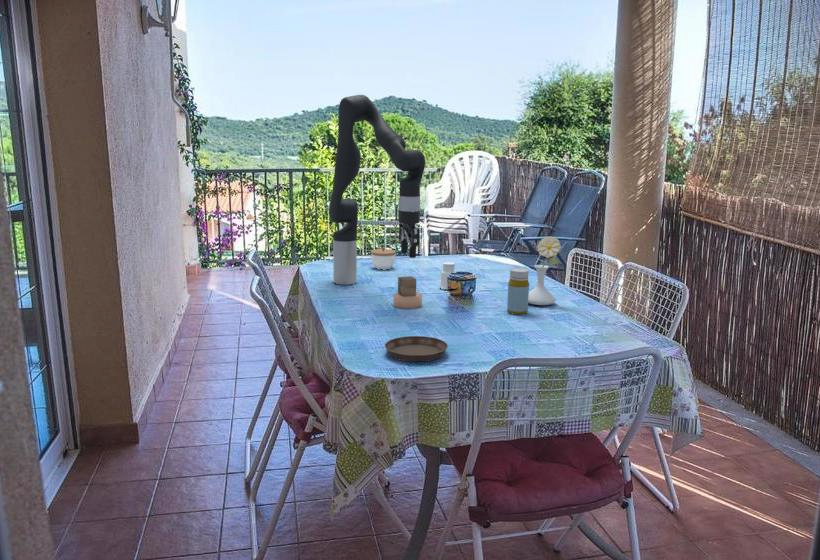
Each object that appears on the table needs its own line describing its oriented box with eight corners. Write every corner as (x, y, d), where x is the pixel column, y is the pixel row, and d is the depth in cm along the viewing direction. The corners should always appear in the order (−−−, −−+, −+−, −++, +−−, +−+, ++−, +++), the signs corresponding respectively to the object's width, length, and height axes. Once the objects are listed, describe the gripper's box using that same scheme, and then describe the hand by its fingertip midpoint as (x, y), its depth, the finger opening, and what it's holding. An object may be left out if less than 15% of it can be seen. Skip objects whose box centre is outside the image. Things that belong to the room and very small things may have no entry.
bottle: (515, 308, 258) (517, 266, 255) (531, 312, 254) (534, 270, 250) (502, 312, 254) (504, 269, 250) (519, 316, 249) (521, 273, 245)
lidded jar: (395, 271, 316) (395, 249, 314) (370, 270, 316) (370, 249, 314) (395, 266, 327) (396, 245, 324) (371, 265, 327) (371, 245, 325)
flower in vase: (517, 303, 266) (520, 235, 260) (534, 298, 274) (538, 231, 269) (548, 310, 257) (552, 239, 252) (565, 304, 265) (570, 236, 260)
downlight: (455, 291, 283) (456, 265, 281) (437, 290, 284) (438, 264, 282) (458, 287, 290) (459, 262, 288) (440, 286, 292) (441, 261, 290)
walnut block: (397, 293, 261) (398, 277, 260) (411, 292, 263) (411, 276, 262) (402, 296, 257) (402, 279, 256) (416, 295, 259) (416, 279, 257)
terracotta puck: (388, 304, 263) (388, 293, 262) (412, 301, 268) (412, 290, 267) (402, 310, 254) (402, 299, 253) (427, 307, 259) (427, 296, 258)
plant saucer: (374, 360, 203) (374, 349, 202) (398, 342, 219) (398, 332, 218) (435, 368, 197) (436, 357, 196) (455, 350, 213) (455, 339, 212)
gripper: (392, 206, 259) (391, 252, 262) (406, 212, 246) (405, 259, 249) (412, 206, 261) (411, 251, 265) (427, 211, 248) (425, 258, 252)
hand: (408, 255), depth 257 cm, fingers open, 8 cm apart
